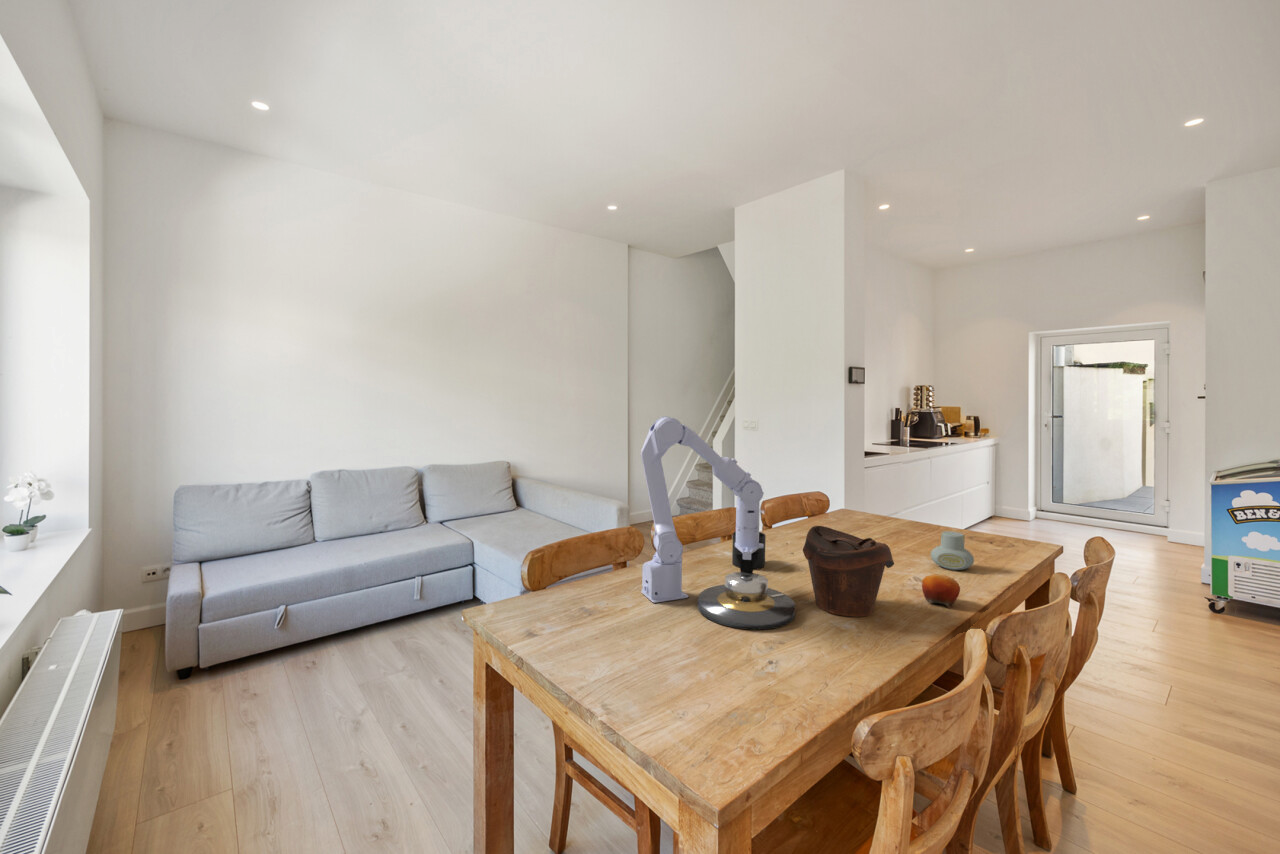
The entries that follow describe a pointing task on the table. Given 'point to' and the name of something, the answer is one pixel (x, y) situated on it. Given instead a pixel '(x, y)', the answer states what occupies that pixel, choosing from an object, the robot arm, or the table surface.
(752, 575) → the cover
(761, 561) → the black cylindrical cup
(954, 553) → the air freshener
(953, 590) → the fruit
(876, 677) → the table surface
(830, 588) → the case
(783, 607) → the turntable
